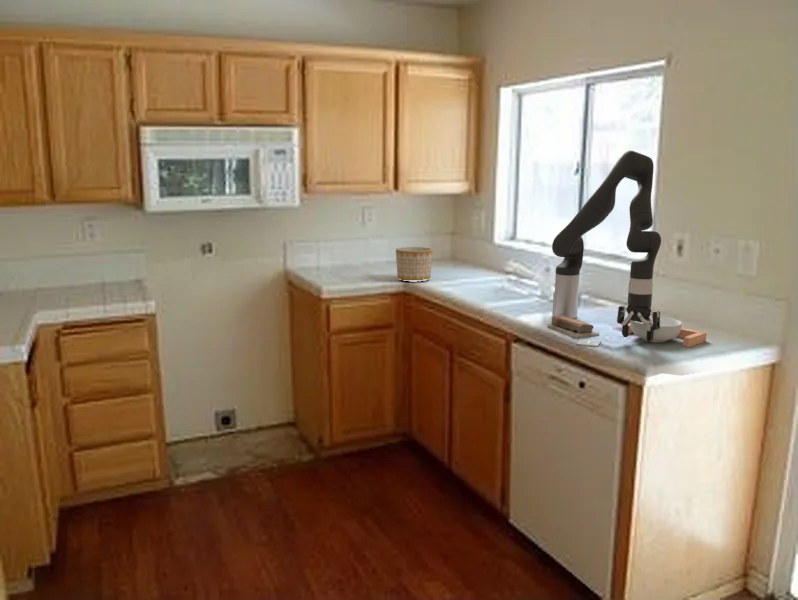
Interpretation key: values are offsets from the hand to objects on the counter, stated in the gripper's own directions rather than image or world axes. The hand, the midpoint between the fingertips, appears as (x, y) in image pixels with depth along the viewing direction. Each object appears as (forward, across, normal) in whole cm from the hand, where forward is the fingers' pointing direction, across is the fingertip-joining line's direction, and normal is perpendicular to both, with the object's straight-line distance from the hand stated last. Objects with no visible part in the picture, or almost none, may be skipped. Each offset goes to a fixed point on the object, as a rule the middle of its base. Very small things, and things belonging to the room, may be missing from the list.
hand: (636, 339), depth 227 cm
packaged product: (+3, +26, -1) cm, 26 cm away
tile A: (+2, +12, +10) cm, 16 cm away
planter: (+2, +146, -31) cm, 150 cm away
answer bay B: (+2, 0, -18) cm, 18 cm away
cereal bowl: (+3, 0, -12) cm, 12 cm away
